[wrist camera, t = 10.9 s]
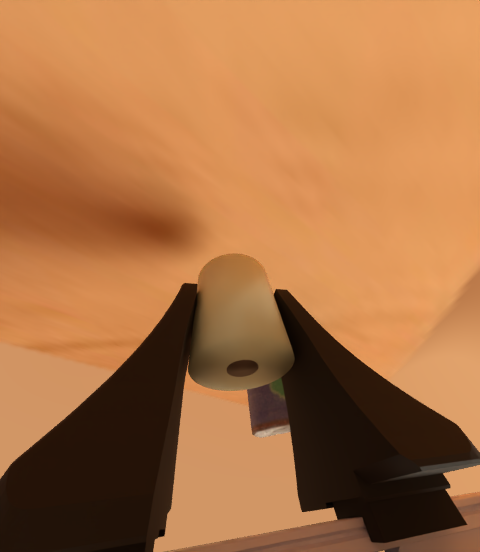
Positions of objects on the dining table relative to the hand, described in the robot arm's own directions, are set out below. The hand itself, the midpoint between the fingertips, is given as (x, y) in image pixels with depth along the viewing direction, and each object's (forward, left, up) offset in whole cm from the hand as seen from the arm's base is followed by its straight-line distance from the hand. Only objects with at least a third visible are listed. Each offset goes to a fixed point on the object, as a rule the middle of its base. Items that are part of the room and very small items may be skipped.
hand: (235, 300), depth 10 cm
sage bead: (0, 0, -1) cm, 1 cm away
